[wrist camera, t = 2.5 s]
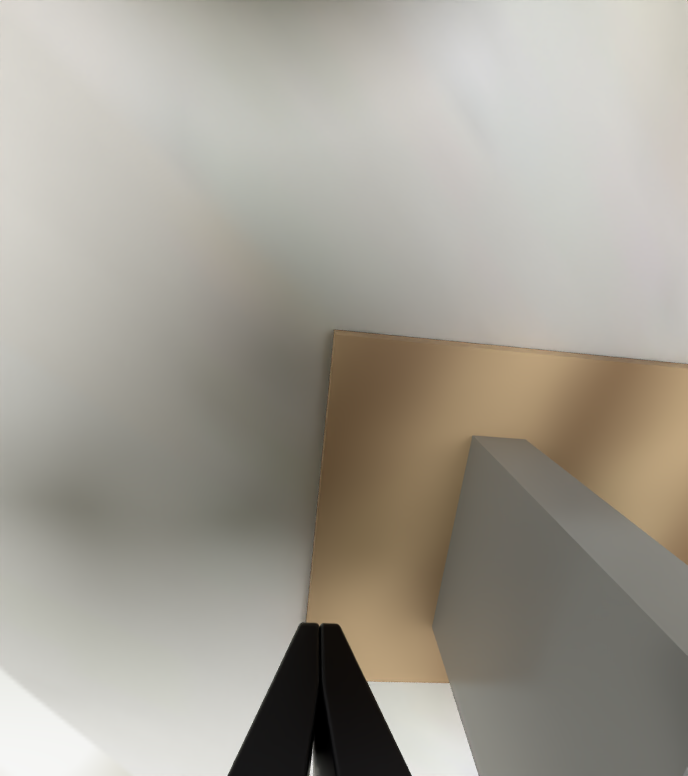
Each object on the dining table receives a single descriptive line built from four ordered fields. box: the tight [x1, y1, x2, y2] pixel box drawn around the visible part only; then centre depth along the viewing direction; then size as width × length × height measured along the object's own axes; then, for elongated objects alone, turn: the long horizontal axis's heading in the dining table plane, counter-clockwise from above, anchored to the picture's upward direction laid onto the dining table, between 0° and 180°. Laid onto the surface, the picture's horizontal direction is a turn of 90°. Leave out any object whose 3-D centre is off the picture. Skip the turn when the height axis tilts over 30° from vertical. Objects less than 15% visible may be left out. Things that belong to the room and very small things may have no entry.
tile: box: [432, 435, 688, 776], centre depth 8 cm, size 2×7×7 cm, turn 174°
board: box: [306, 330, 688, 683], centre depth 12 cm, size 14×12×1 cm
